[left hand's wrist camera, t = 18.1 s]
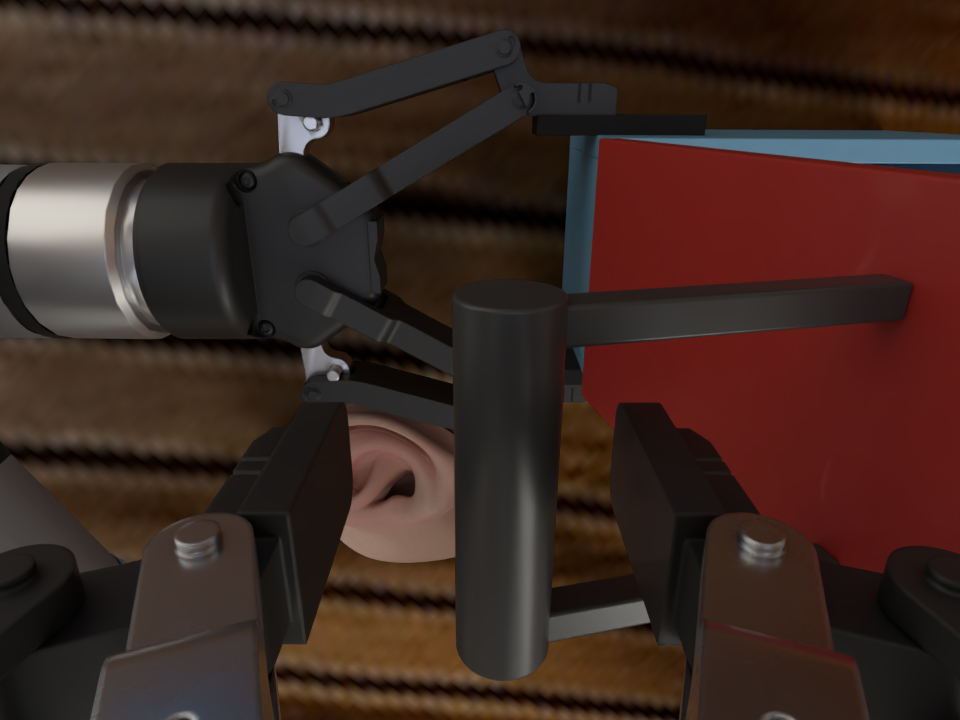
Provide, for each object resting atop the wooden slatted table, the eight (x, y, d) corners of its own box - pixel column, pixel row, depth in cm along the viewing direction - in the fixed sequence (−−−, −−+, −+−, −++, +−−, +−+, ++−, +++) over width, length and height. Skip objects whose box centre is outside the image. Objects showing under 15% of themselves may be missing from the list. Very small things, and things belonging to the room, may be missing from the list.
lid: (1221, 200, 8) (523, 228, 6) (975, 772, 11) (503, 906, 9) (620, 138, 22) (372, 139, 20) (599, 393, 26) (387, 414, 24)
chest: (884, 130, 32) (1047, 139, 23) (842, 318, 36) (967, 391, 26) (570, 128, 32) (607, 137, 23) (560, 316, 36) (588, 389, 26)
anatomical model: (520, 576, 37) (345, 634, 39) (517, 533, 41) (357, 588, 42) (426, 384, 32) (232, 460, 34) (431, 356, 36) (256, 426, 38)
